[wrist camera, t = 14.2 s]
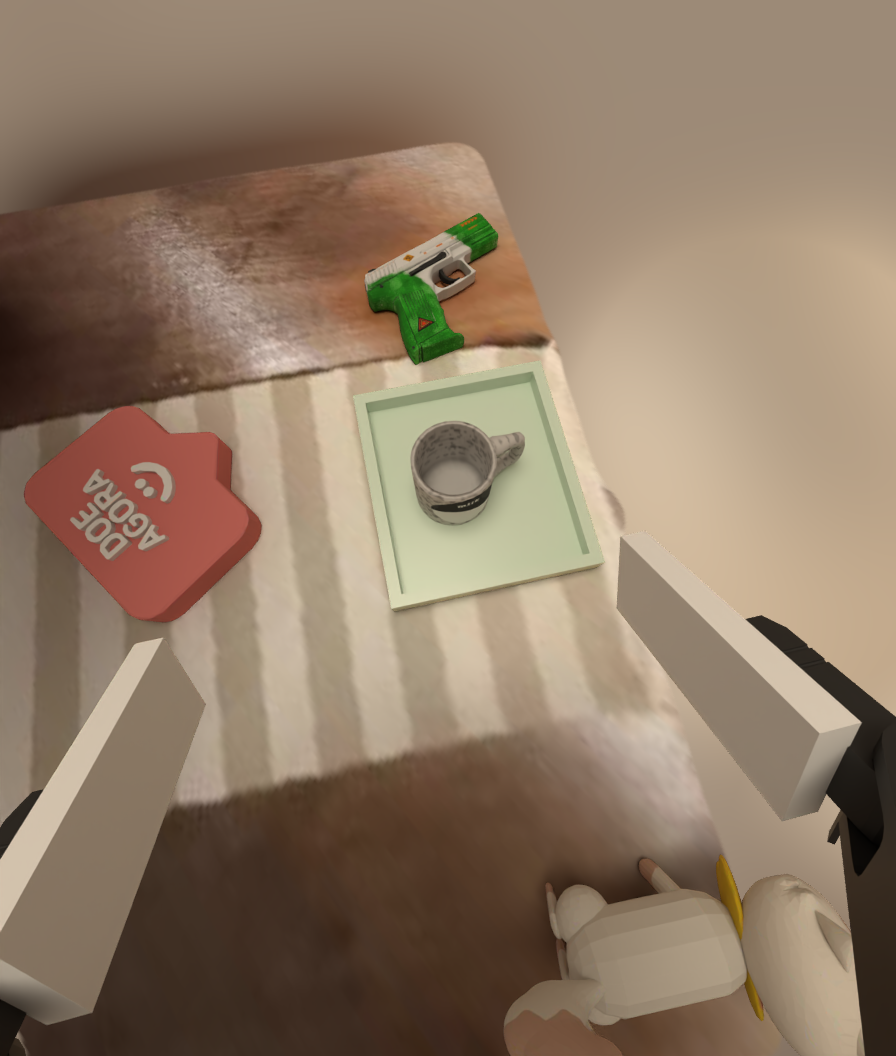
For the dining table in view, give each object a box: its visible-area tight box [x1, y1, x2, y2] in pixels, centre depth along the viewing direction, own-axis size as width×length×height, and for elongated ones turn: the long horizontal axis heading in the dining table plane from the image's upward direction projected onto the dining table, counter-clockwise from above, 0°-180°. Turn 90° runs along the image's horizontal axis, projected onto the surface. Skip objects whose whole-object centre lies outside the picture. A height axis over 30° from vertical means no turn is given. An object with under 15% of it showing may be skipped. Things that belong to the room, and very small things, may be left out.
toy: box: [504, 855, 865, 1056], centre depth 25 cm, size 9×19×15 cm, turn 100°
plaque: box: [24, 406, 261, 622], centre depth 40 cm, size 18×4×15 cm
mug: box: [410, 421, 525, 526], centre depth 38 cm, size 10×7×7 cm, turn 116°
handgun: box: [365, 213, 498, 365], centre depth 47 cm, size 3×16×12 cm
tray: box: [353, 361, 605, 612], centre depth 41 cm, size 20×18×2 cm
